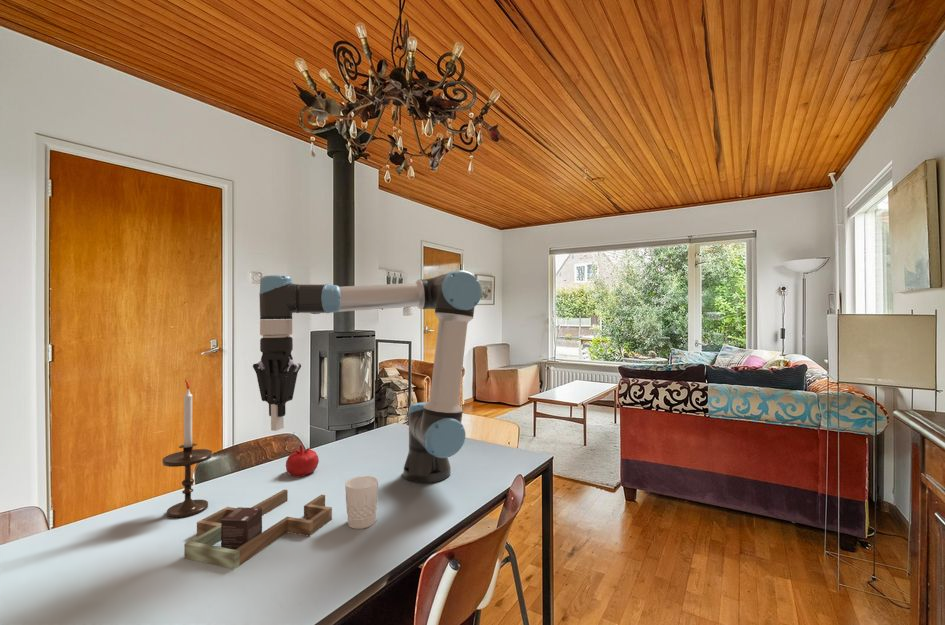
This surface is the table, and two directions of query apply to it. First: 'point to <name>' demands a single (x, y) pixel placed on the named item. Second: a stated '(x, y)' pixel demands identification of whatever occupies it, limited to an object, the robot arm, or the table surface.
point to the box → (240, 527)
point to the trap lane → (231, 558)
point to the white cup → (361, 501)
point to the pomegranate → (302, 462)
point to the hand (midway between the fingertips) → (277, 429)
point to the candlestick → (187, 465)
